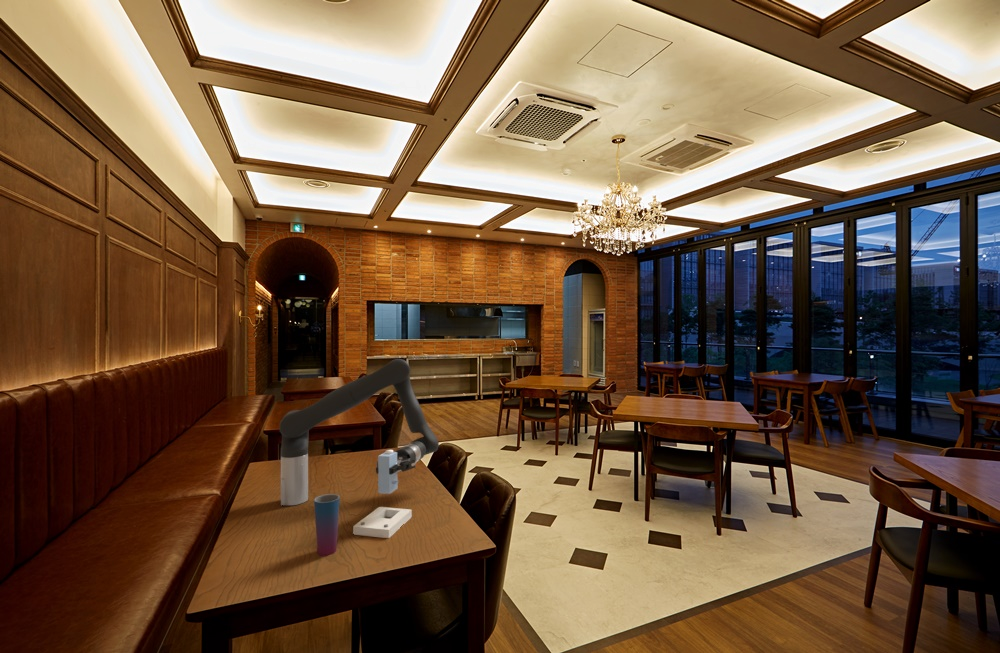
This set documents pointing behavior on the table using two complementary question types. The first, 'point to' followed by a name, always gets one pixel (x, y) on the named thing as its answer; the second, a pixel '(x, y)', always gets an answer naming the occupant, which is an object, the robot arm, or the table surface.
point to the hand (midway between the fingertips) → (383, 471)
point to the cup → (326, 523)
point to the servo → (387, 472)
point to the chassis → (382, 522)
